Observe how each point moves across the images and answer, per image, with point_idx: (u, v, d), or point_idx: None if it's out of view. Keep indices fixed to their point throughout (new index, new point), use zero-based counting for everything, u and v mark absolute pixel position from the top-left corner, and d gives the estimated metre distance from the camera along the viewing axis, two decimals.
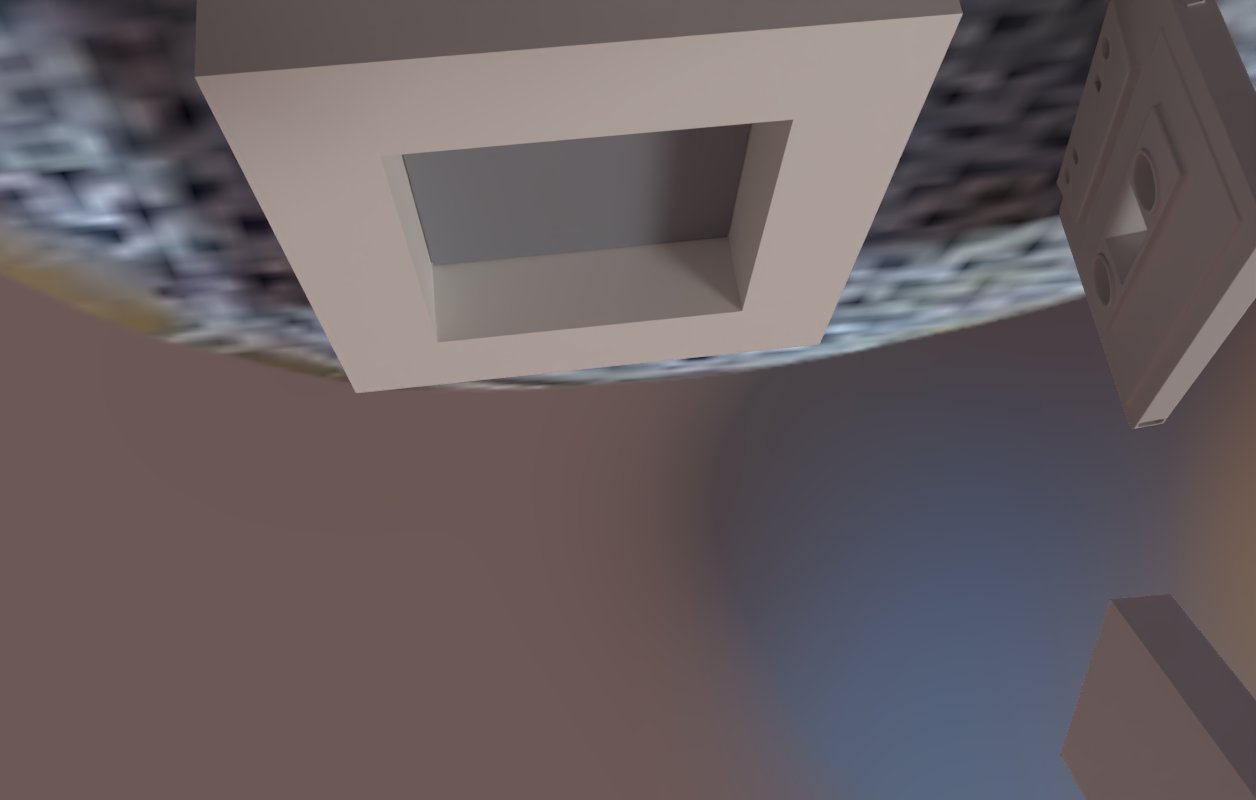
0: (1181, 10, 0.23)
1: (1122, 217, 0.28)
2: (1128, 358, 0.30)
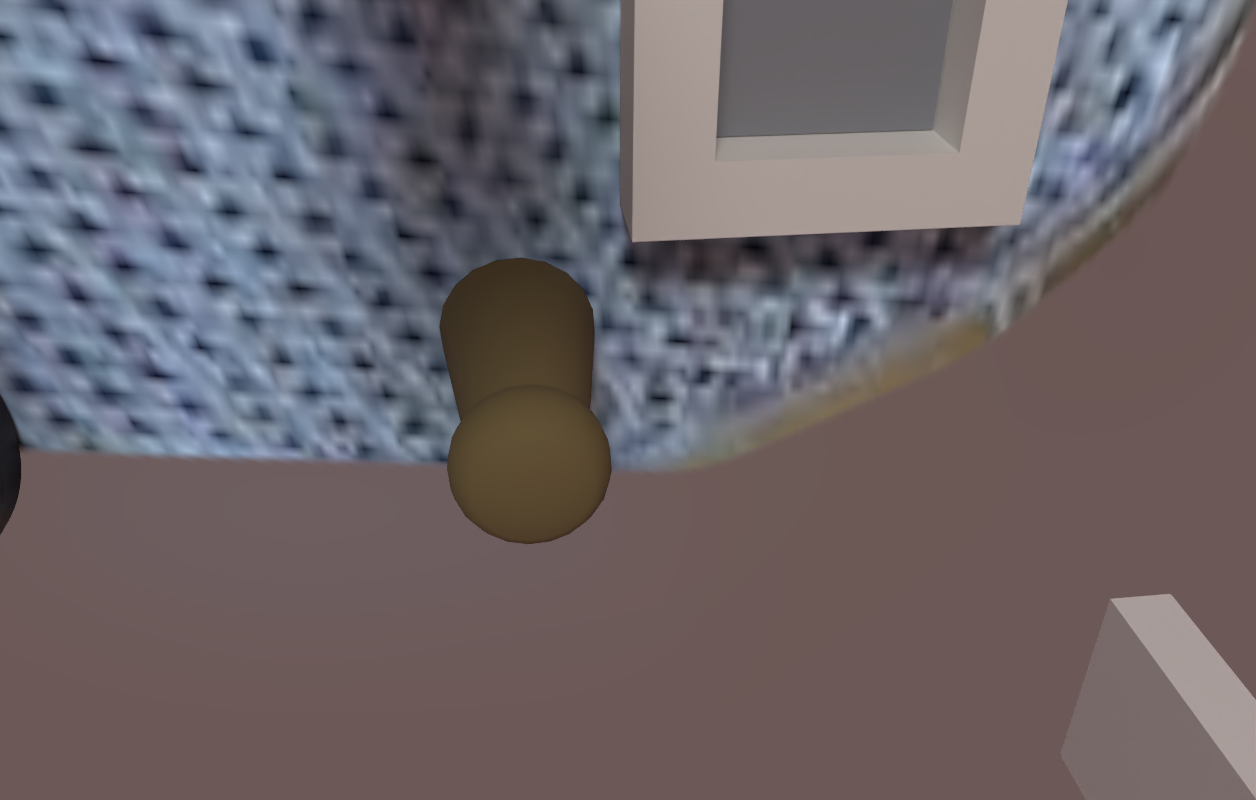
0: None
1: None
2: None
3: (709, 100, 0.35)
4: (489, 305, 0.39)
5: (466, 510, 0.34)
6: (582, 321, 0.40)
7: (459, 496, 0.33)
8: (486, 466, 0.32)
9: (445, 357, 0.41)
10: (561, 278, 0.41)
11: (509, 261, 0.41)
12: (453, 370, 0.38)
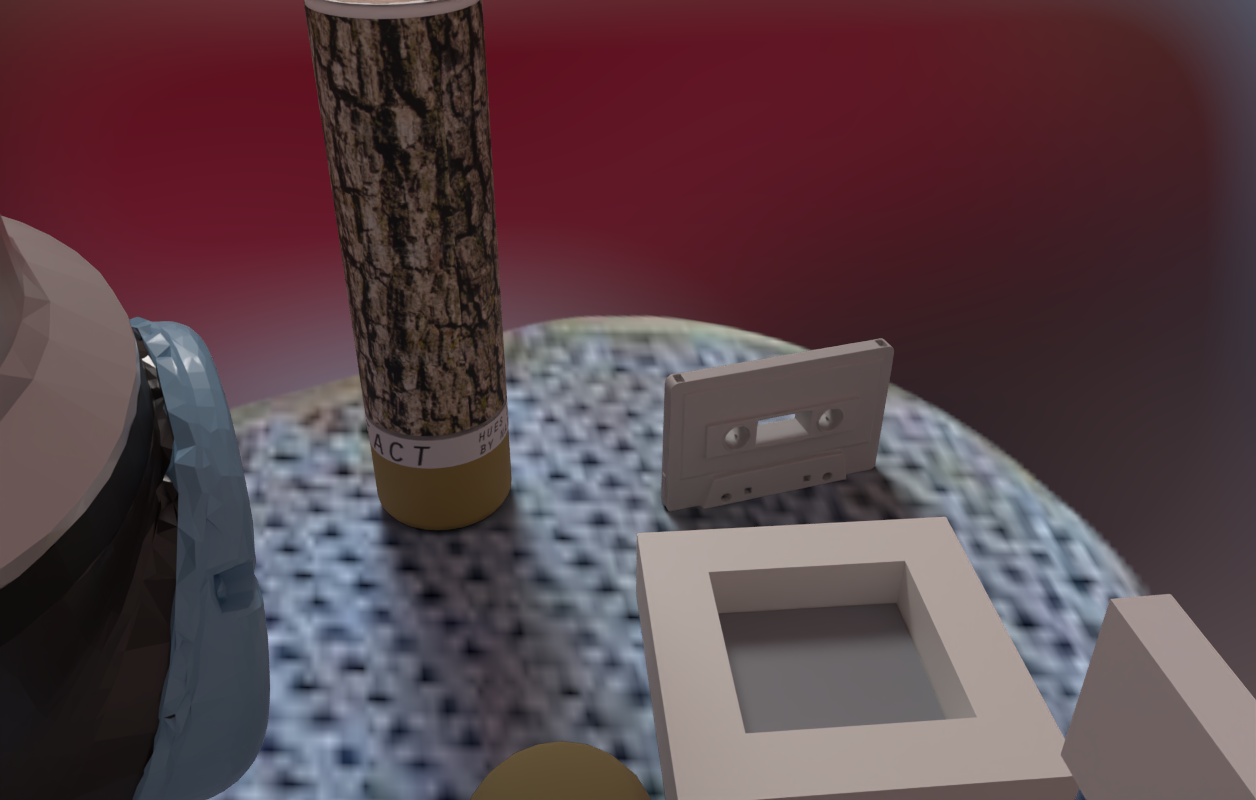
0: (667, 476, 0.53)
1: (789, 435, 0.54)
2: (852, 378, 0.54)
3: (727, 689, 0.40)
4: None
5: None
6: None
7: None
8: (505, 771, 0.28)
9: None
10: None
11: None
12: None
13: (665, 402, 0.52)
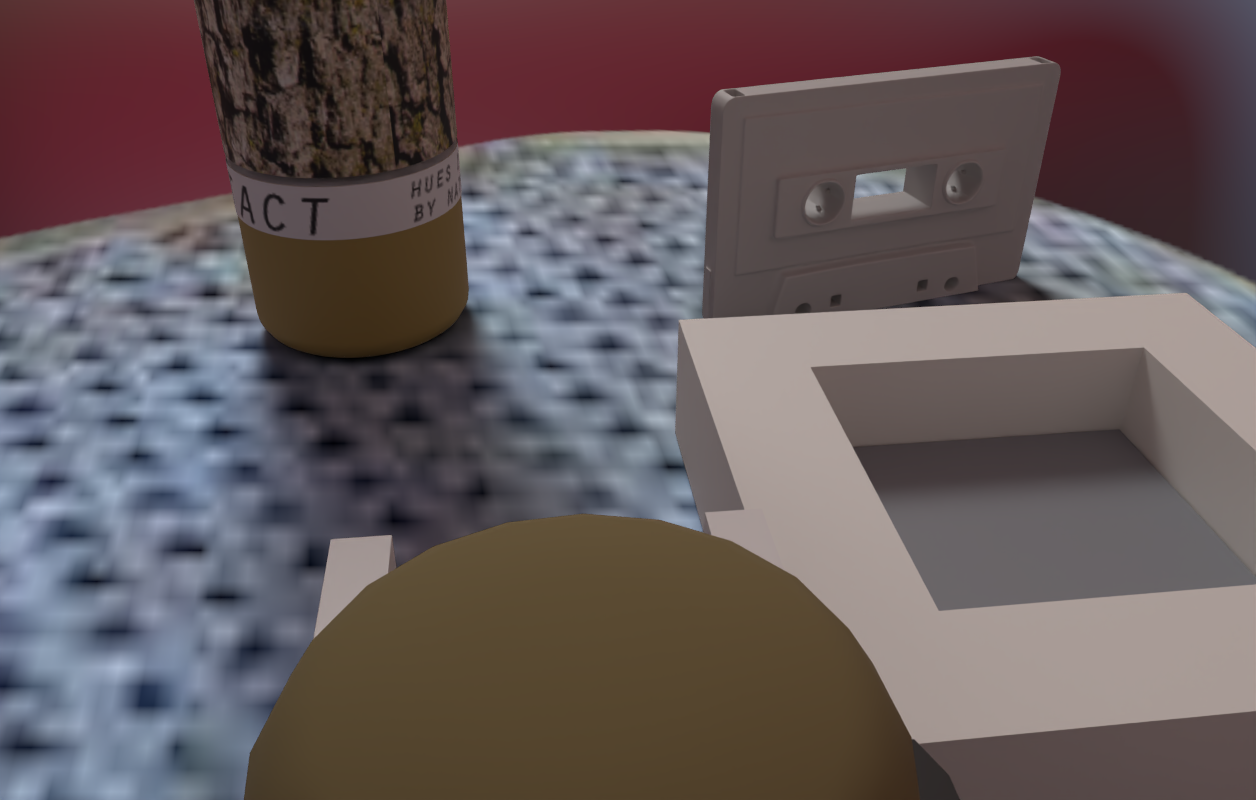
0: (714, 271, 0.34)
1: (899, 209, 0.35)
2: (998, 114, 0.34)
3: (884, 536, 0.20)
4: None
5: None
6: None
7: (263, 768, 0.07)
8: (400, 585, 0.09)
9: None
10: None
11: None
12: None
13: (712, 139, 0.32)
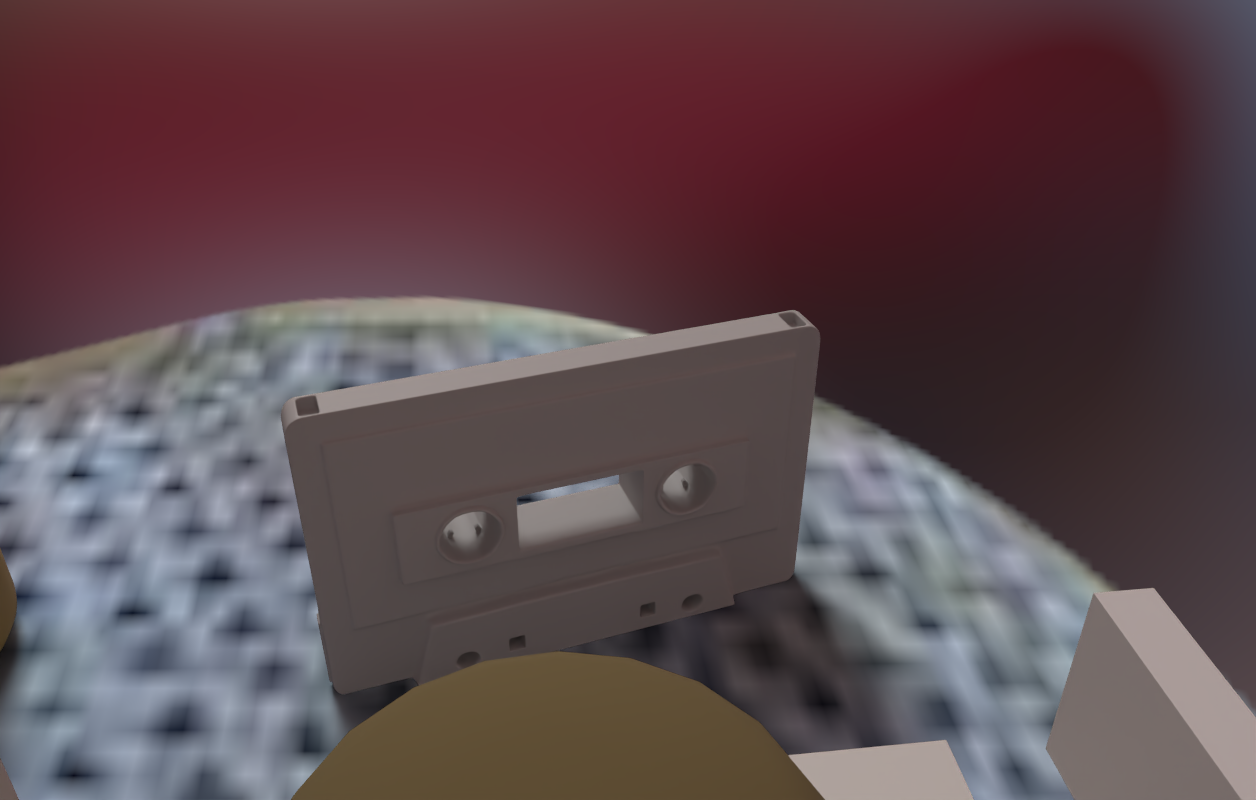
0: None
1: (598, 524, 0.25)
2: (730, 398, 0.24)
3: None
4: None
5: None
6: None
7: None
8: (381, 736, 0.09)
9: None
10: None
11: None
12: None
13: None
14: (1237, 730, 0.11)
